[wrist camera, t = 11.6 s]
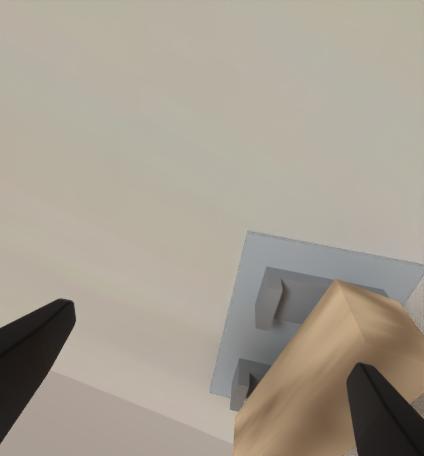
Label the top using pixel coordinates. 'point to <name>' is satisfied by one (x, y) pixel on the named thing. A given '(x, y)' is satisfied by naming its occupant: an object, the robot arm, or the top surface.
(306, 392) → the oak rail
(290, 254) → the mount board
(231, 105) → the top surface
